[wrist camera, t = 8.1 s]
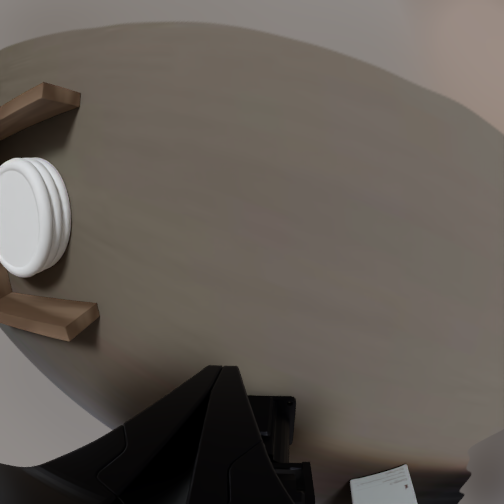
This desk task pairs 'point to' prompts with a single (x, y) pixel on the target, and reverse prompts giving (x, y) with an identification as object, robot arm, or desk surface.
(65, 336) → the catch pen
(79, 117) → the desk surface
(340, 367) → the desk surface
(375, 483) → the supplement box
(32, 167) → the coaster
